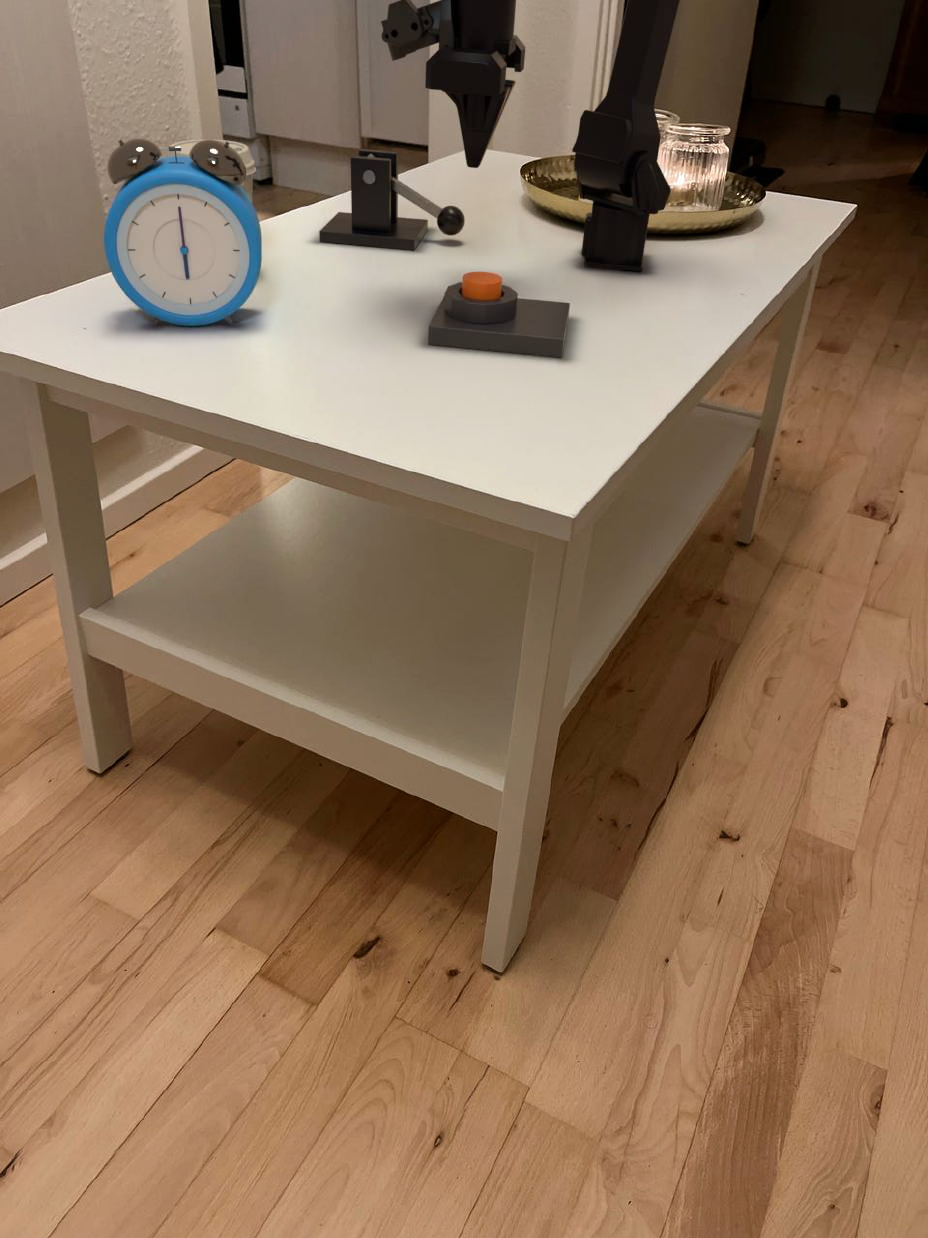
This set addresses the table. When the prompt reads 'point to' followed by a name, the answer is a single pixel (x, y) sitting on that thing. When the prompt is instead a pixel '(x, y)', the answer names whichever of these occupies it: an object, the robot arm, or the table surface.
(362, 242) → the bracket
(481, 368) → the table surface
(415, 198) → the lever
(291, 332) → the table surface
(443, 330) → the button block
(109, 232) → the alarm clock
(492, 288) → the button
